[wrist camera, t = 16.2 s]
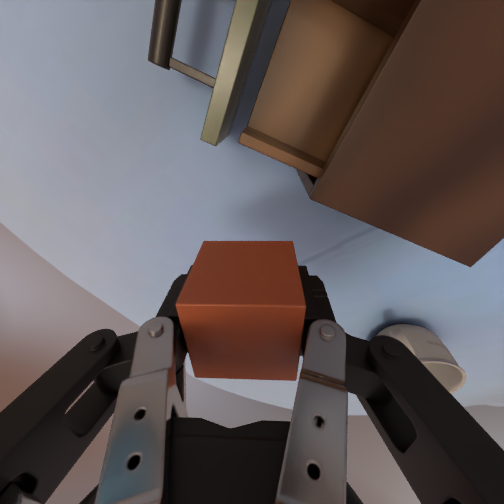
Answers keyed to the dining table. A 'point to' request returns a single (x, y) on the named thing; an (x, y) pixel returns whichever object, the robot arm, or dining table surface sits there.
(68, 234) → the dining table surface
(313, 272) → the dining table surface
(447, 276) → the dining table surface
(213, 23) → the dining table surface
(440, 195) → the cabinet
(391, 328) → the teacup
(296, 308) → the block
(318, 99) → the drawer
